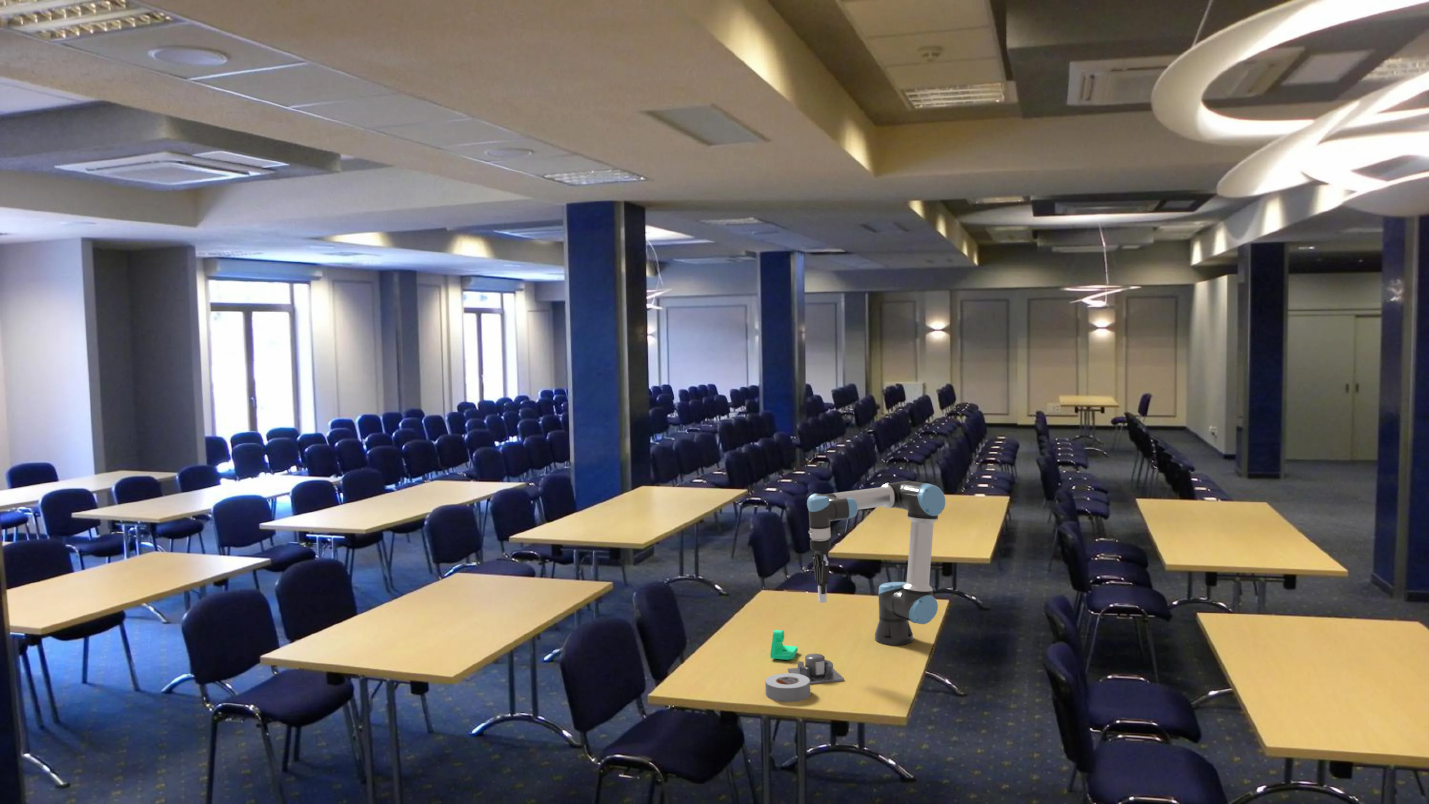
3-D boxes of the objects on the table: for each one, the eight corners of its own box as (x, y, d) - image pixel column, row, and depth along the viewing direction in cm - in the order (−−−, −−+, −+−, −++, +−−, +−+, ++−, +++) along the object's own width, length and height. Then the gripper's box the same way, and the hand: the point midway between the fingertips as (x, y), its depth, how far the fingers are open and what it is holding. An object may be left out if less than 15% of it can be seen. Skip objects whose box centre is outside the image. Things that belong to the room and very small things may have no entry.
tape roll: (766, 703, 336) (766, 688, 336) (764, 687, 351) (764, 673, 351) (812, 702, 336) (812, 687, 336) (808, 686, 351) (807, 672, 351)
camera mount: (789, 662, 377) (789, 635, 377) (770, 660, 380) (770, 634, 379) (798, 653, 389) (797, 627, 388) (779, 651, 391) (778, 625, 391)
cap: (818, 667, 367) (818, 651, 366) (829, 675, 359) (829, 659, 358) (801, 670, 364) (800, 654, 363) (811, 678, 356) (811, 662, 356)
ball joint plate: (829, 666, 371) (828, 655, 371) (844, 680, 356) (843, 668, 355) (787, 670, 368) (787, 659, 367) (801, 685, 352) (800, 673, 352)
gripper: (804, 536, 372) (806, 598, 374) (816, 543, 359) (819, 607, 361) (823, 534, 374) (825, 596, 375) (836, 541, 361) (838, 605, 363)
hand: (822, 601), depth 368 cm, fingers closed
